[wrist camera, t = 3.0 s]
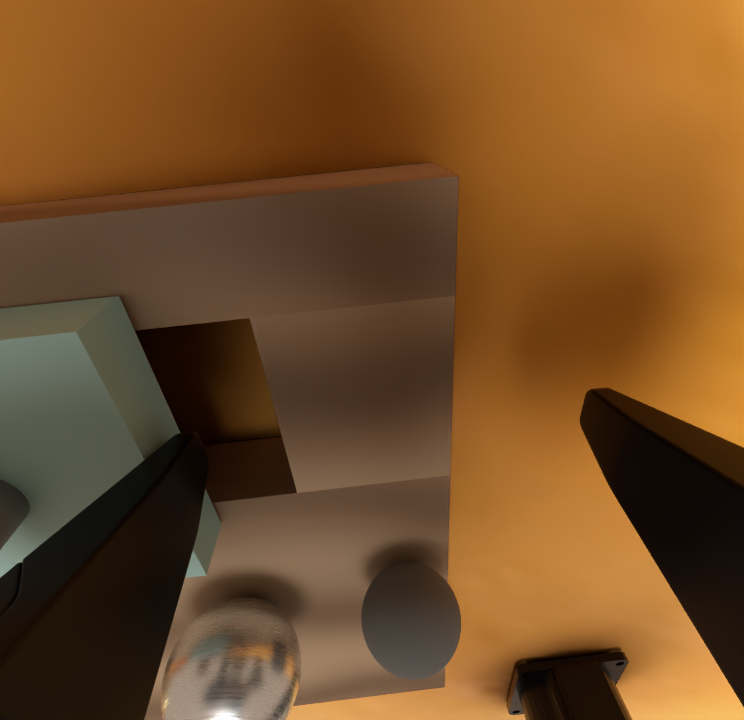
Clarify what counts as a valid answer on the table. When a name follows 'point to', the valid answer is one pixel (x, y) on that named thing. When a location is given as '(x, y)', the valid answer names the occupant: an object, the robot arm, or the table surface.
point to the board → (292, 378)
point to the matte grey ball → (411, 620)
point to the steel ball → (233, 665)
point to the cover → (76, 420)
